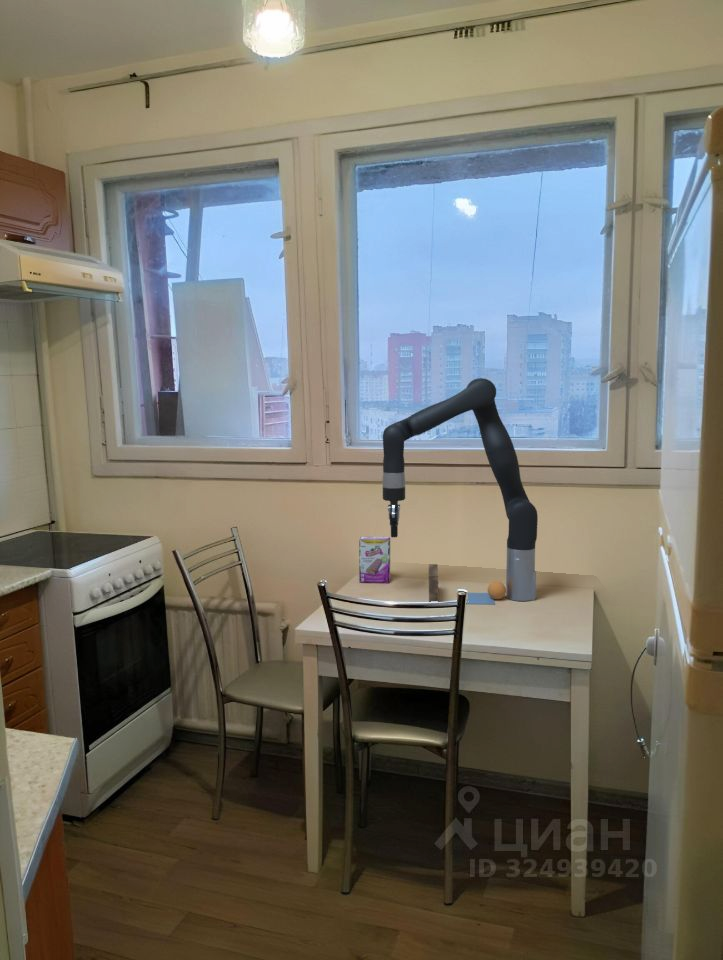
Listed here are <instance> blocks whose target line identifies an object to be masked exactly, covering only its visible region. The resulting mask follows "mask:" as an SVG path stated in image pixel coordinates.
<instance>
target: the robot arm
mask: <svg viewBox="0 0 723 960" xmlns="http://www.w3.org/2000/svg"><path fill="white" fill-rule="evenodd" d="M496 396H497V388H496V386H495V384H494V383H493V382H492V381H491V380H490V379H487V378H485V377H484V378H481V377H480V378H474V379H472V380H470V382H469V383H468V384H467V386H466V387H465V388H464V389H463V390H461V391H460V392H458V393H456V394H455V395H452V396H451V397H449V398H447V399H445V400H442V401H440V402H437V403H434V404H432V405H430V406H427V407H424V408H423V409H420V410H419V411H417V412H415V413H413V414H411V415H410V416H408V417H406V418H404V419H401V420H399V421H396V422H394V423H392V424H390V425H388V426H386V427H385V429H384V430H383V431H382V445H383V446H382V448H383V449H382V450H383V451H382V452H383V459H382V464H383V465H382V500H383V501H386V502H390V503H389V504H388V505H387V512H388V520H389V526H390V538H397V537H398V532H399V531H398V529H399V528H398V526H399V522H400V521H399V520H400V510H401V504H399V503H398V502H401V501H404V500H406V475H405V457H404V456H405V455H404V453H405V452H404V451H405V442H406V441H408V440H409V439H412V438H413V437H416V436H420V435H422V434H425V433H426V432H429V431H430V430H432V429H435V428H437V427H439V426H440V425H442V424H444V423H445V422H447V421H450V420H451V419H454V418H455V417H458V416H459V415H462V414H464V413H466V412H469V411H472V412H473V414H474V417H475V419H476V422H477V426H478V428H479V433H480V436H481V441H482V444H483V447H484V451H485V456H486V458H487V461H488V463H489V466H490V469H491V471H492V474H493V476H494V478H495V480H496V482H497V484H498V486H499V489H500V492H501V495H502V496H501V497H502V499H503V503H504V509H505V510H504V511H505V514H506V518H507V519H508V534H507V539H506V572H505V573H506V574H505V575H506V577H505V579H506V581H505V583H506V584H505V588H506V593H505V596H506V598H507V599H508V600H511V601H517V602H529V601H535V600H536V592H537V591H536V589H537V588H536V583H537V572H536V568H535V567H536V541H537V539H538V538H537V537H538V523H539V522H538V516H539V515H538V510H537V508H536V506H535V505H534V504H533V503H532V502H531V501H530V499H529V497H528V495H527V493H526V491H525V489H524V486H523V482H522V479H521V471H520V463H519V460H518V459H519V458H518V456H517V452H516V450H515V446H514V444H513V441H512V438H511V436H510V434H509V432H508V430H507V428H506V426H505V424H504V423H503V421H502V419H501V417H500V415H499V412H498V408H497V404H496V400H495V398H496Z"/></svg>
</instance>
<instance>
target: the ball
mask: <svg viewBox="0 0 723 960" xmlns="http://www.w3.org/2000/svg"><path fill="white" fill-rule="evenodd" d="M487 593H488V594H489V596H490V597H491V598H493V599H494V600H500V599H503V598H504V597H505V596H506V585H505V584H504V583H503V582H501V581H498V580H495V581H492V582H490V583H489V584H488V587H487Z"/></svg>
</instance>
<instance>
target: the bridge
mask: <svg viewBox="0 0 723 960" xmlns="http://www.w3.org/2000/svg"><path fill="white" fill-rule="evenodd" d="M438 567H439V565H438V564H437V563H435V564H433V563H432V564H431V563H430V564H428V603H429V602H431V601H438V602H439V568H438Z"/></svg>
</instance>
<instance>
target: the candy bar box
mask: <svg viewBox="0 0 723 960" xmlns="http://www.w3.org/2000/svg"><path fill="white" fill-rule="evenodd" d="M358 541H359V547H358V548H359V551H358V552H359V558H358V559H359V560H358V561H359V566H358V567H359V570H358V571H359V574H358V575H359V576H358V577H359V583H364V584H366V583H367V584H373V583H374V584H389V583H390V581H391V536H360V537H359V539H358Z"/></svg>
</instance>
